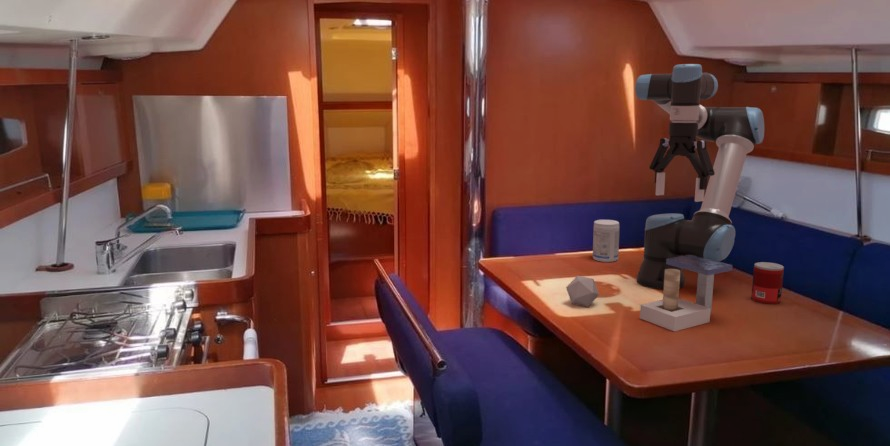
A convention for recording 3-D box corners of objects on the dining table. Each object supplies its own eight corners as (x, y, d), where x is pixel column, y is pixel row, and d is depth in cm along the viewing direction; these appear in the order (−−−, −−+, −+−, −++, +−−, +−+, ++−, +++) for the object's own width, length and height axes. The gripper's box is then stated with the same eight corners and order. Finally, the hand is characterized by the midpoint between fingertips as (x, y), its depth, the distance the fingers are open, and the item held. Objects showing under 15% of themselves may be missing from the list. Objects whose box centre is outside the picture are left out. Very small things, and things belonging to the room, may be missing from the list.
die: (603, 305, 191) (591, 274, 195) (601, 299, 183) (589, 267, 187) (575, 314, 193) (565, 283, 196) (572, 308, 184) (561, 276, 188)
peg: (668, 316, 178) (671, 267, 175) (680, 320, 174) (683, 271, 171) (658, 318, 176) (661, 269, 173) (670, 323, 172) (673, 273, 169)
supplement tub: (608, 255, 249) (610, 218, 246) (623, 261, 240) (625, 223, 237) (587, 257, 245) (588, 220, 242) (601, 263, 237) (603, 224, 234)
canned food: (784, 305, 188) (787, 269, 186) (754, 303, 190) (758, 267, 188) (776, 297, 196) (779, 262, 194) (748, 295, 197) (751, 261, 195)
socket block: (639, 318, 178) (640, 304, 177) (674, 309, 184) (675, 296, 184) (674, 331, 167) (675, 317, 167) (709, 322, 174) (710, 308, 174)
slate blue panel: (663, 310, 184) (666, 258, 181) (686, 305, 188) (690, 254, 186) (704, 325, 172) (708, 270, 169) (728, 319, 177) (732, 265, 174)
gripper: (639, 120, 184) (635, 193, 188) (713, 123, 163) (707, 205, 167) (657, 120, 187) (653, 191, 191) (732, 122, 166) (726, 202, 170)
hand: (678, 198), depth 179 cm, fingers open, 13 cm apart
